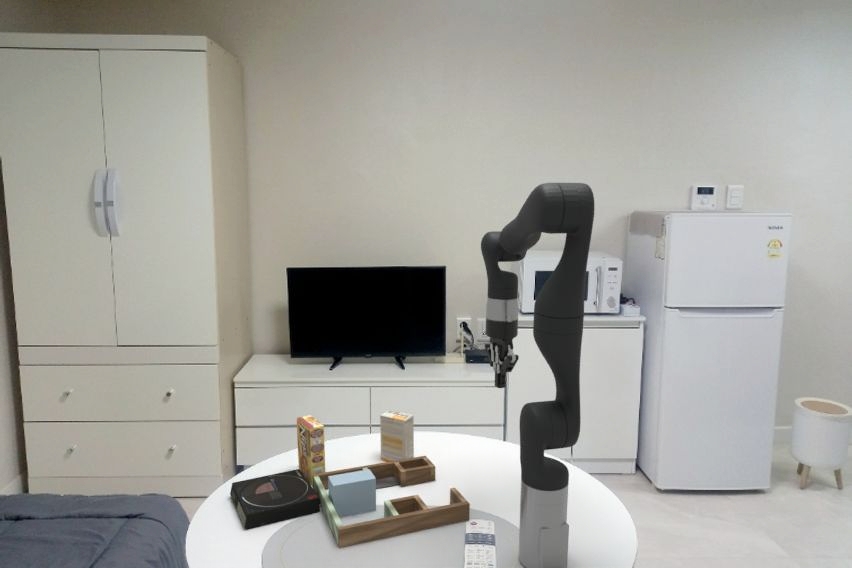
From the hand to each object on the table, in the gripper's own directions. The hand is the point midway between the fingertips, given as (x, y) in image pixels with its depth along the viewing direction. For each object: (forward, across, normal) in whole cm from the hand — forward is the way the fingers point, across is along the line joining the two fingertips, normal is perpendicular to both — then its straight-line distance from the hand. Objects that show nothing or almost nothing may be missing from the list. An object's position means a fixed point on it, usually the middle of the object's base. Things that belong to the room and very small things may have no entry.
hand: (500, 387), depth 149 cm
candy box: (+27, -24, -41) cm, 55 cm away
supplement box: (+27, -26, -17) cm, 41 cm away
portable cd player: (+28, -14, -52) cm, 61 cm away
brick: (+27, -5, -35) cm, 45 cm away
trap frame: (+27, -4, -27) cm, 38 cm away
